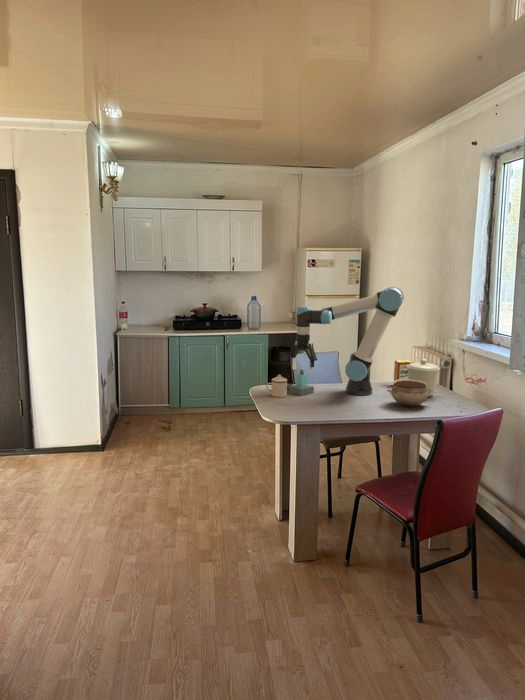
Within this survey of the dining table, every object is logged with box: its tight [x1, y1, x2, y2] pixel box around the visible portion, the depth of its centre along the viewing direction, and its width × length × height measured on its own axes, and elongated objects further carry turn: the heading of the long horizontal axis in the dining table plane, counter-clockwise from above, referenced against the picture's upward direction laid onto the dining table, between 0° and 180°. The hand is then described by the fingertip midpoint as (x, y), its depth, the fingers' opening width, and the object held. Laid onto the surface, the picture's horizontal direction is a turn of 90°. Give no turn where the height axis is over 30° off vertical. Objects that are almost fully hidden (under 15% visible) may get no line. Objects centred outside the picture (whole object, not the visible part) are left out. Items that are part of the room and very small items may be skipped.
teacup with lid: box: [265, 374, 288, 398], centre depth 290 cm, size 12×9×12 cm
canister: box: [407, 358, 441, 398], centre depth 296 cm, size 18×18×21 cm
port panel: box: [288, 383, 315, 397], centre depth 297 cm, size 10×10×4 cm
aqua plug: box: [296, 369, 308, 388], centre depth 296 cm, size 4×4×14 cm
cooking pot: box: [386, 379, 432, 408], centre depth 274 cm, size 25×19×12 cm
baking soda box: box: [392, 359, 415, 386], centre depth 316 cm, size 10×6×16 cm
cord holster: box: [287, 383, 295, 392], centre depth 304 cm, size 7×7×2 cm
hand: (302, 370), depth 295 cm, fingers open, 13 cm apart
